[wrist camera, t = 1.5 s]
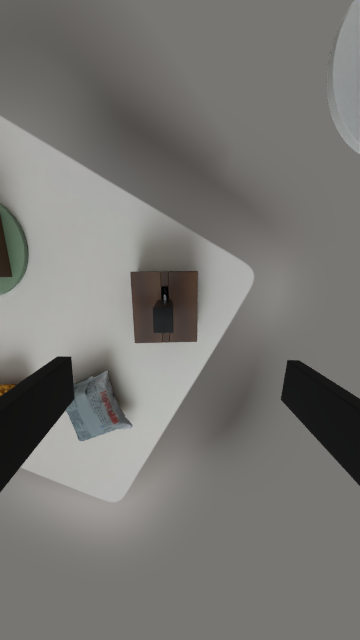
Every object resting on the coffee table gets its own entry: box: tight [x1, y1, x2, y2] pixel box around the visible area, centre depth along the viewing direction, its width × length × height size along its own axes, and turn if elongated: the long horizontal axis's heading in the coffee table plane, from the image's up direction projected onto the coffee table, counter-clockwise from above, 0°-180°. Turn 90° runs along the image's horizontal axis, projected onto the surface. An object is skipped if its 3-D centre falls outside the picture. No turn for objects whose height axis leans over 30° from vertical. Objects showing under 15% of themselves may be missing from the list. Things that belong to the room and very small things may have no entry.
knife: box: [153, 292, 174, 333], centre depth 25 cm, size 2×4×13 cm, turn 0°
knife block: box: [131, 271, 198, 343], centre depth 29 cm, size 9×10×5 cm
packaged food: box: [66, 370, 132, 441], centre depth 32 cm, size 9×12×5 cm
